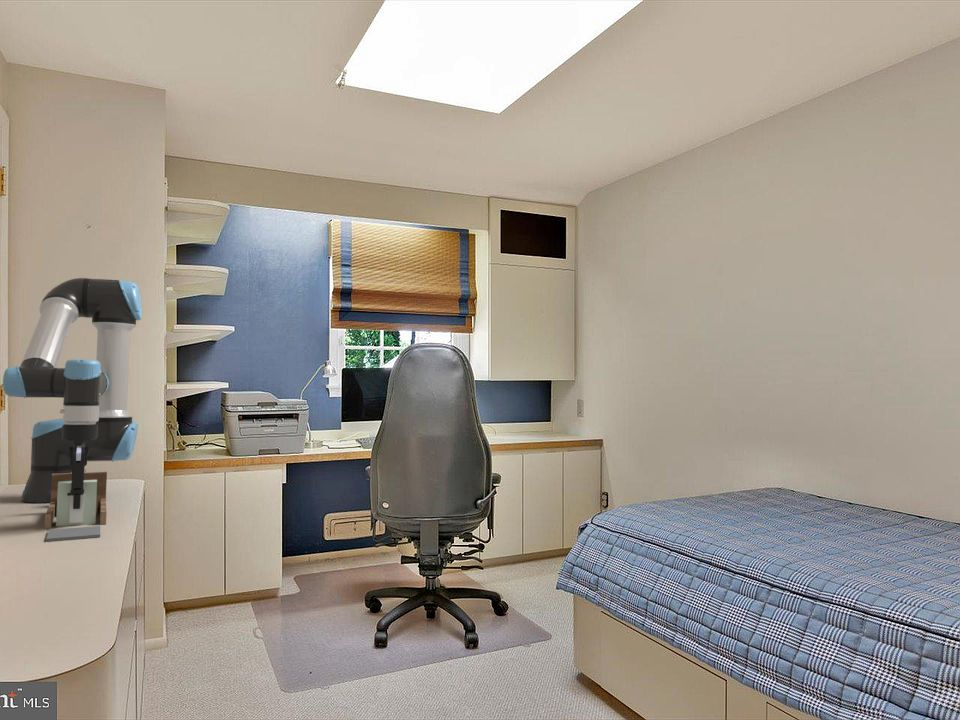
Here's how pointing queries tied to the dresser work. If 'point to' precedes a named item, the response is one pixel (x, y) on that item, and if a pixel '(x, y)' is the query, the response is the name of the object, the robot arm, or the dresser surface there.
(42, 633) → the dresser surface
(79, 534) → the rubber pad
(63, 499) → the block
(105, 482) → the rack
